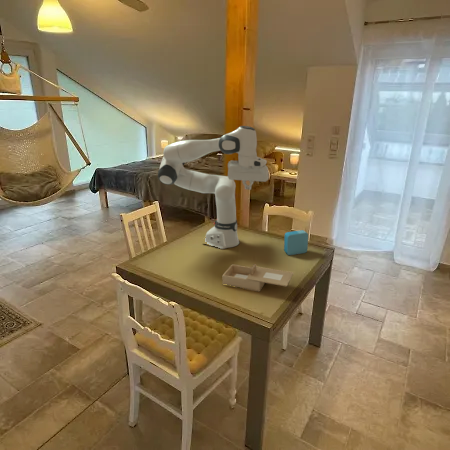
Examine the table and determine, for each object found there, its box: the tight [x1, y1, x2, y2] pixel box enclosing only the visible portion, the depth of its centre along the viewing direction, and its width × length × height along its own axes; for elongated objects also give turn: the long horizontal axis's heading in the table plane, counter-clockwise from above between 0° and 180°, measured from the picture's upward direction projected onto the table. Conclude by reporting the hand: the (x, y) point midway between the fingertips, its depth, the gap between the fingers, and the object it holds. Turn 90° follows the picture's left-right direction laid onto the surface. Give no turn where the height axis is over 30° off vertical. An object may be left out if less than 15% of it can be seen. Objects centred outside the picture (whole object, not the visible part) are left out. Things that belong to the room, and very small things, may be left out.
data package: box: [283, 229, 309, 256], centre depth 192 cm, size 12×4×12 cm, turn 105°
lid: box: [246, 264, 294, 287], centre depth 158 cm, size 18×13×4 cm
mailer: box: [221, 263, 266, 293], centre depth 164 cm, size 18×12×5 cm, turn 67°
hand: (248, 189), depth 173 cm, fingers closed
